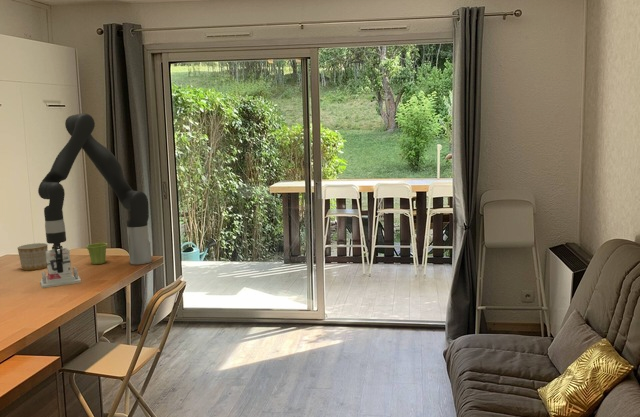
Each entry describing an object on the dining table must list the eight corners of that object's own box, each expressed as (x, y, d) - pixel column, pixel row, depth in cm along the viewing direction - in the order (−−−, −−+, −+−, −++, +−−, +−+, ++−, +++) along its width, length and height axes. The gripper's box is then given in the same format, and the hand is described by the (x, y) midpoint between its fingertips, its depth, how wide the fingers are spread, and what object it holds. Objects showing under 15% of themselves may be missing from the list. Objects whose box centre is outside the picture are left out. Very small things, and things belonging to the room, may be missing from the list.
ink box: (50, 281, 266) (47, 252, 264) (48, 278, 270) (45, 250, 268) (72, 277, 270) (69, 249, 269) (69, 275, 275) (66, 247, 273)
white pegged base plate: (78, 277, 278) (77, 265, 278) (81, 282, 269) (80, 270, 268) (40, 282, 272) (39, 270, 271) (41, 288, 262) (40, 275, 262)
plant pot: (97, 266, 299) (95, 247, 298) (83, 264, 304) (81, 246, 303) (113, 261, 307) (111, 243, 306) (99, 260, 312) (98, 242, 310)
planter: (55, 265, 305) (53, 243, 303) (35, 271, 293) (33, 249, 291) (34, 264, 309) (31, 242, 307) (13, 270, 297) (11, 248, 296)
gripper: (66, 232, 263) (71, 273, 265) (63, 227, 275) (67, 266, 278) (46, 234, 259) (51, 276, 262) (44, 229, 272) (48, 269, 275)
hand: (59, 270), depth 270 cm, fingers closed on ink box, 5 cm apart
